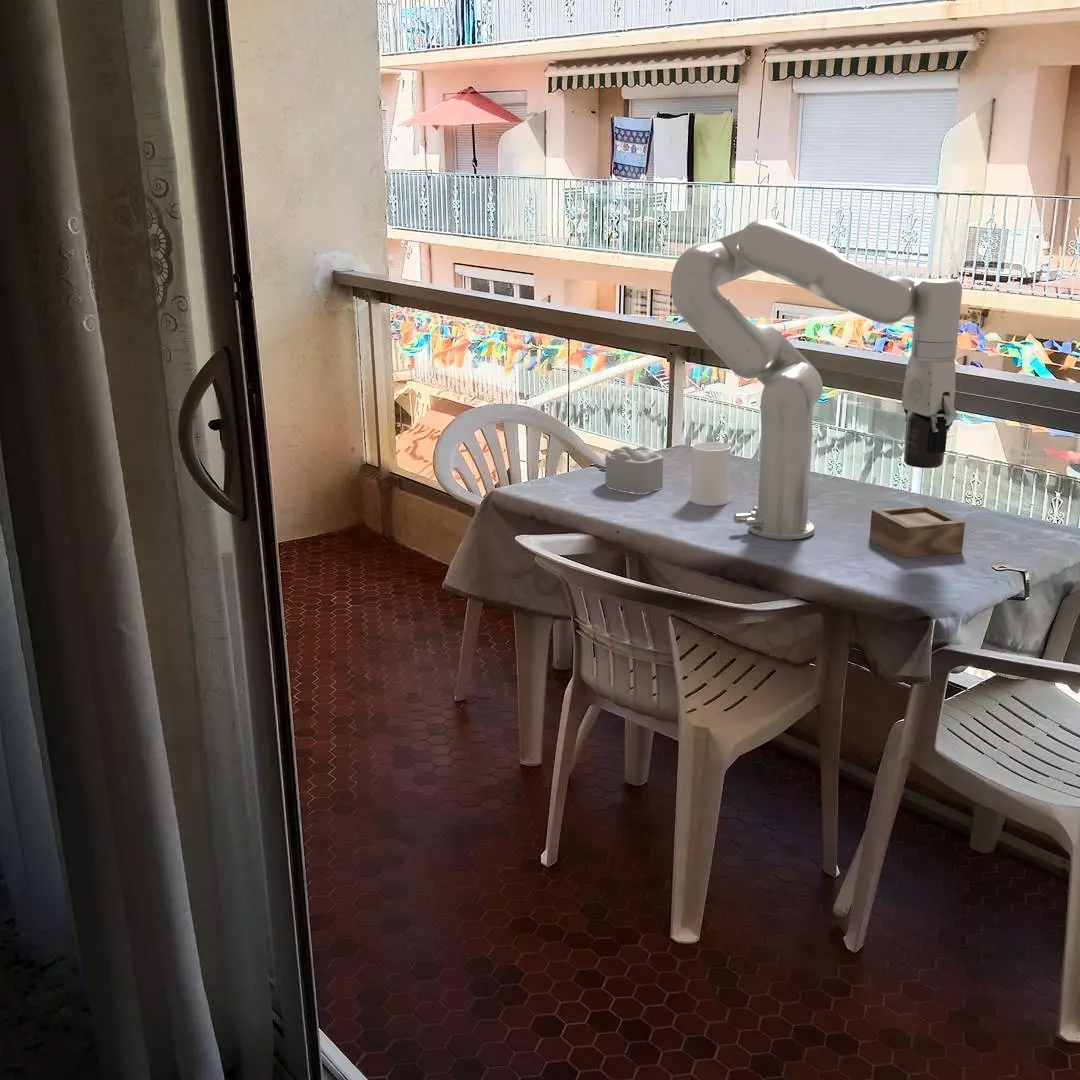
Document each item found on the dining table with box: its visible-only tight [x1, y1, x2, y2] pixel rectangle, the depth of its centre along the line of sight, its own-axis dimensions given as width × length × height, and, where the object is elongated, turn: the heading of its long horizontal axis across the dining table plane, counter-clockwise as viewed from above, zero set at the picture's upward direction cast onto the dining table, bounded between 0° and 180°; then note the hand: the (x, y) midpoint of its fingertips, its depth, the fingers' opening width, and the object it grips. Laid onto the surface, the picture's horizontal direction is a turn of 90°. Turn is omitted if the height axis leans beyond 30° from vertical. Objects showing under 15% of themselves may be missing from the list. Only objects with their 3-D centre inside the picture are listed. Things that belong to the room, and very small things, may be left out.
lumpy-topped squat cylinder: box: [604, 445, 664, 493], centre depth 250 cm, size 10×13×9 cm
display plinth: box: [868, 504, 966, 559], centre depth 207 cm, size 12×12×6 cm
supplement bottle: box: [903, 411, 945, 469], centre depth 202 cm, size 7×7×12 cm
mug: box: [689, 441, 732, 507], centre depth 238 cm, size 12×8×12 cm
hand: (924, 447), depth 203 cm, fingers closed on supplement bottle, 6 cm apart
